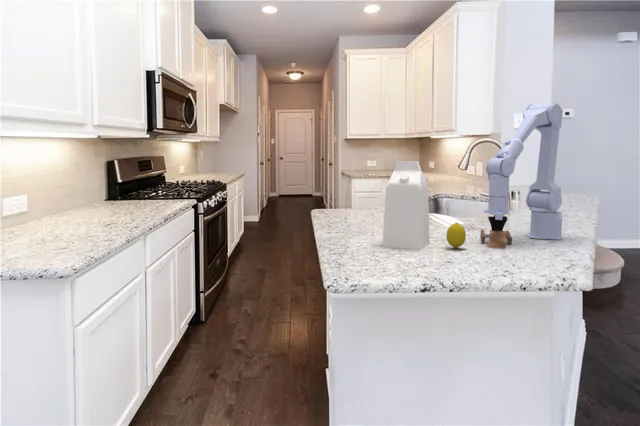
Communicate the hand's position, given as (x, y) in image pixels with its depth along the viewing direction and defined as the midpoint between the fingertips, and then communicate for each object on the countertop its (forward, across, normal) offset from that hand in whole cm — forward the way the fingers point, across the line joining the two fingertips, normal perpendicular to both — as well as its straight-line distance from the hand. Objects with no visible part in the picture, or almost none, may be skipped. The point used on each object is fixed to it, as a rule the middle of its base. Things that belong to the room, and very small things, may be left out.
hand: (496, 239), depth 152 cm
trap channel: (+1, -7, 0) cm, 7 cm away
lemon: (+2, +11, -12) cm, 16 cm away
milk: (+2, +9, -27) cm, 29 cm away
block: (+1, +4, 0) cm, 4 cm away
